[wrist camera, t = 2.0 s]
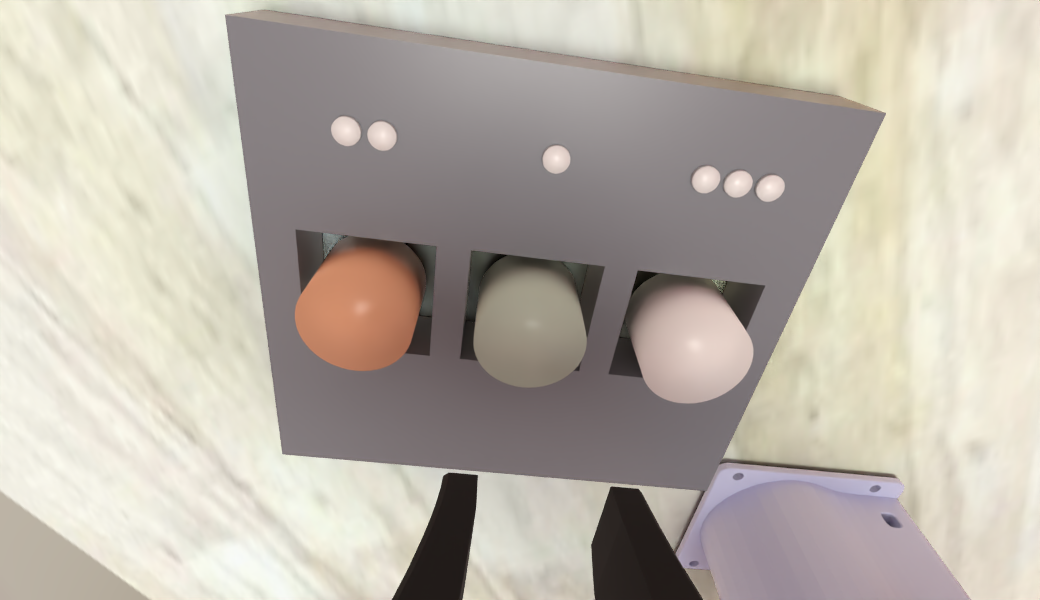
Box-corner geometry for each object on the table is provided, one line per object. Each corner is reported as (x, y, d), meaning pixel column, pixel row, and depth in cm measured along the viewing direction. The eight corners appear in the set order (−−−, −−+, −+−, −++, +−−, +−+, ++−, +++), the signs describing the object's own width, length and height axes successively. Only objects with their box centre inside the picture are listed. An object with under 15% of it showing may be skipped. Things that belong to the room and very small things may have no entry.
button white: (736, 276, 19) (770, 322, 17) (704, 355, 21) (730, 408, 18) (638, 264, 19) (658, 309, 16) (615, 346, 21) (629, 398, 18)
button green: (586, 257, 19) (597, 302, 16) (567, 340, 21) (575, 392, 18) (483, 245, 18) (479, 288, 16) (474, 331, 20) (468, 381, 18)
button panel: (839, 96, 17) (890, 114, 15) (690, 447, 25) (708, 494, 23) (264, 9, 16) (221, 15, 13) (303, 411, 24) (280, 458, 22)
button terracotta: (428, 239, 18) (414, 281, 16) (424, 325, 20) (411, 376, 18) (321, 226, 18) (289, 267, 15) (326, 315, 20) (299, 365, 17)
